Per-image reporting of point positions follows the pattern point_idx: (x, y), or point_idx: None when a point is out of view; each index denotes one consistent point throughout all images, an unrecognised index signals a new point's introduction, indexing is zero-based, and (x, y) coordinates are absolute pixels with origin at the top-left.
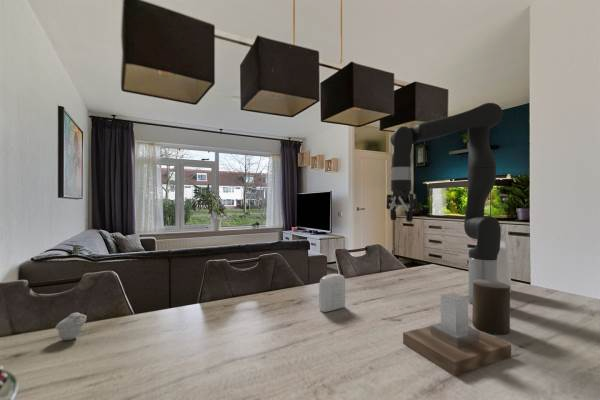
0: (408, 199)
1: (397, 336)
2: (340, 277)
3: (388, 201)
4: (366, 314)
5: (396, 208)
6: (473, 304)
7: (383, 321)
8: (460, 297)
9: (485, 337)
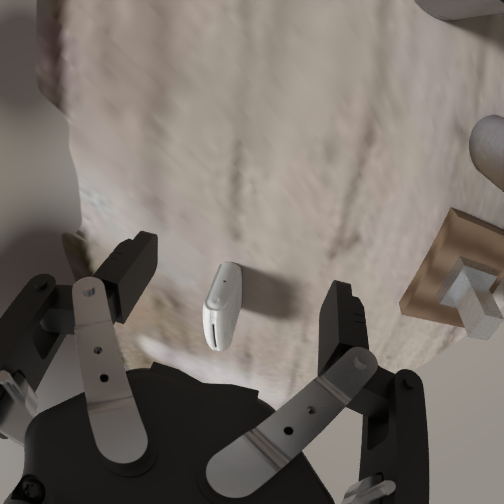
0: (310, 476)
1: (384, 292)
2: (225, 322)
3: (38, 380)
4: (294, 261)
5: (107, 304)
6: (492, 177)
7: (338, 264)
8: (494, 326)
9: (499, 247)
